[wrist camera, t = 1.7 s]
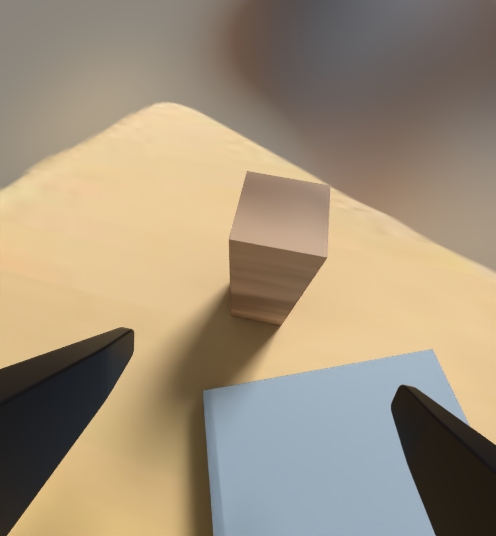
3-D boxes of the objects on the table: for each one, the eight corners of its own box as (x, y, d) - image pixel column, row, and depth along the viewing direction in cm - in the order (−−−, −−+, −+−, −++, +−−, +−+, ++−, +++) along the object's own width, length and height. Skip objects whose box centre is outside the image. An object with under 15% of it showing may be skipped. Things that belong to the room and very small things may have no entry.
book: (226, 631, 14) (224, 689, 11) (207, 391, 19) (202, 390, 16) (492, 551, 16) (546, 582, 13) (407, 355, 21) (432, 349, 18)
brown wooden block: (281, 325, 22) (327, 257, 11) (230, 315, 22) (228, 239, 11) (286, 280, 24) (330, 185, 13) (240, 271, 24) (247, 171, 13)
